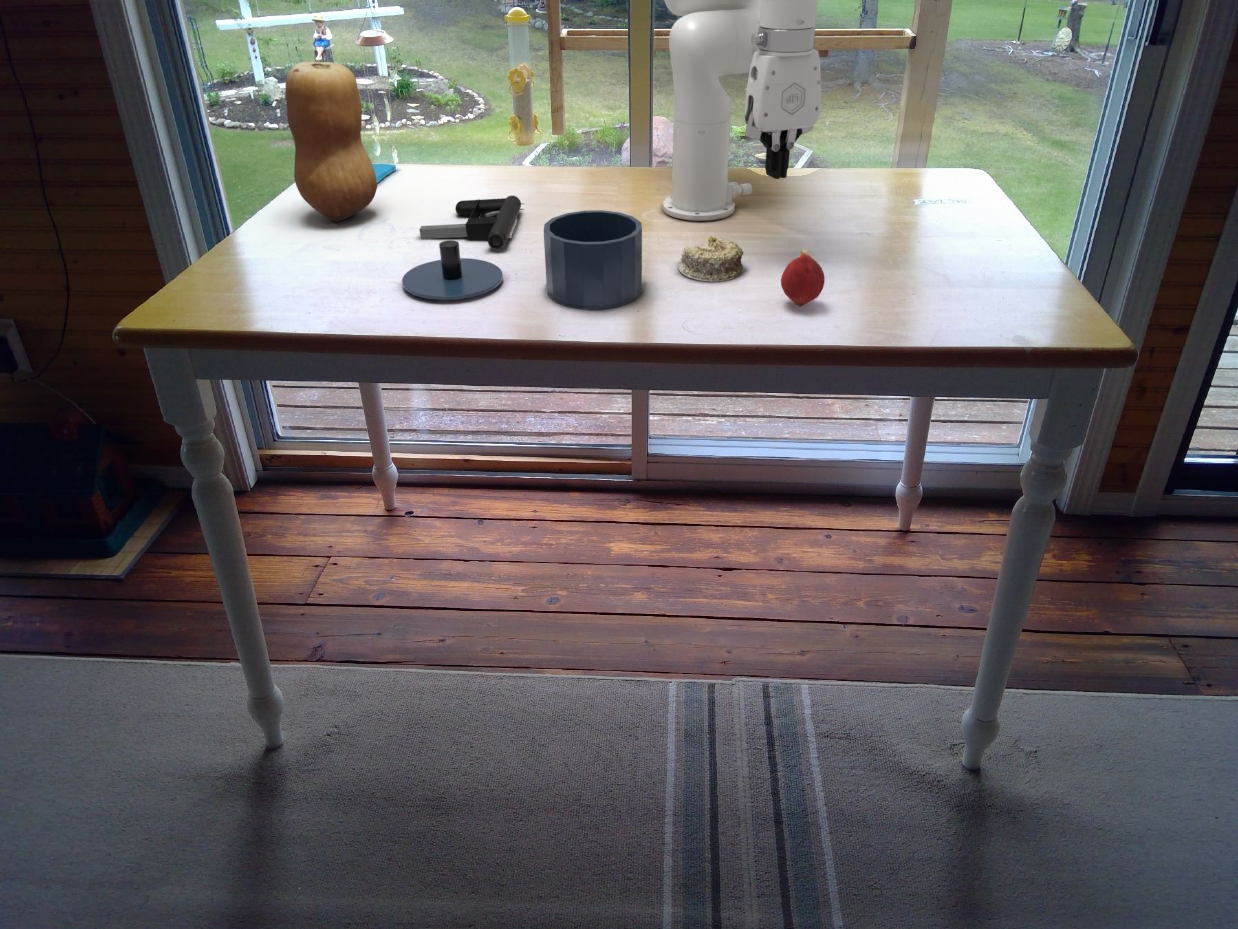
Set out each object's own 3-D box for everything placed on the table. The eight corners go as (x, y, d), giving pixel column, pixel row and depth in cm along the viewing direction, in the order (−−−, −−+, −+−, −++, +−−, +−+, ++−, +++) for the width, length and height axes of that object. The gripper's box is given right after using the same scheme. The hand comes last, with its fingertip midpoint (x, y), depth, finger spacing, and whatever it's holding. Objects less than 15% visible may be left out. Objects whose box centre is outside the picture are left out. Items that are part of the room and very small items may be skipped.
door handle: (410, 237, 148) (510, 232, 146) (436, 197, 164) (527, 192, 163) (414, 257, 150) (513, 252, 148) (439, 215, 166) (529, 211, 165)
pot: (618, 266, 143) (618, 205, 138) (657, 299, 133) (658, 234, 128) (534, 281, 139) (530, 218, 133) (567, 316, 128) (564, 249, 123)
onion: (824, 300, 132) (830, 245, 128) (817, 316, 128) (824, 260, 123) (783, 295, 134) (788, 241, 129) (775, 311, 129) (780, 255, 125)
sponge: (341, 181, 177) (369, 179, 176) (369, 163, 187) (395, 161, 185) (344, 189, 178) (372, 187, 177) (371, 171, 188) (397, 169, 186)
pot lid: (486, 258, 146) (483, 220, 143) (516, 293, 135) (513, 252, 132) (393, 274, 141) (387, 234, 138) (416, 310, 130) (410, 269, 127)
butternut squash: (393, 219, 162) (370, 64, 148) (317, 236, 155) (286, 75, 142) (362, 199, 171) (338, 51, 157) (290, 213, 165) (258, 61, 151)
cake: (756, 270, 143) (760, 237, 139) (716, 291, 137) (720, 257, 133) (704, 250, 148) (707, 217, 144) (664, 269, 142) (666, 236, 138)
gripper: (752, 49, 122) (744, 189, 132) (848, 40, 127) (833, 176, 137) (724, 41, 128) (718, 176, 138) (817, 32, 133) (805, 163, 143)
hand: (776, 175), depth 138 cm, fingers closed
